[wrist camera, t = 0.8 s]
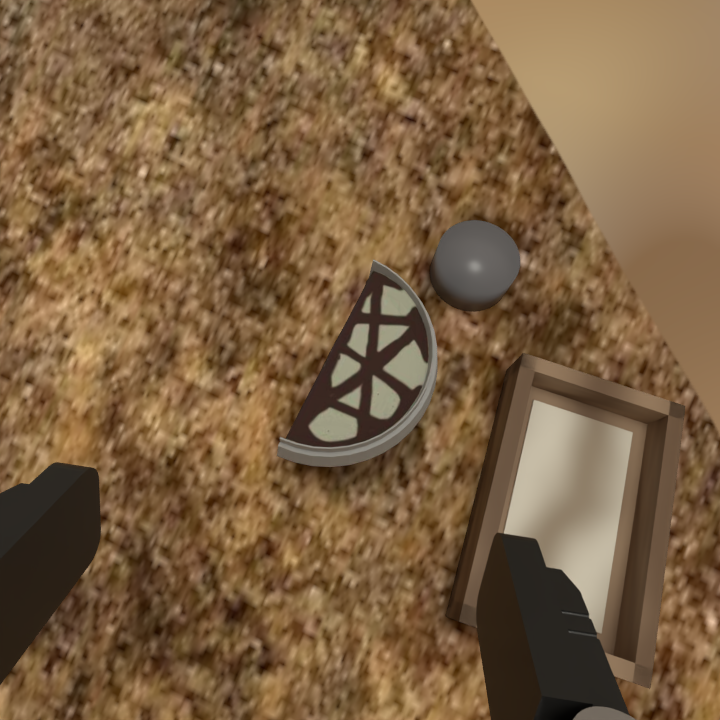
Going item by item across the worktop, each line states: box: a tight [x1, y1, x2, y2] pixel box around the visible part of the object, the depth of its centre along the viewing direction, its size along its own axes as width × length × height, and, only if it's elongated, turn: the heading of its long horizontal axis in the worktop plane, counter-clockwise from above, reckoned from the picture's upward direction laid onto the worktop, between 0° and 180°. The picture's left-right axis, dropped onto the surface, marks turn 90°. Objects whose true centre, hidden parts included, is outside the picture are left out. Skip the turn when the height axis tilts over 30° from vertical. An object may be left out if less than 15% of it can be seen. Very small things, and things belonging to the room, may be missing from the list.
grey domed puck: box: [430, 220, 520, 311], centre depth 42 cm, size 6×6×3 cm
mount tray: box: [446, 353, 685, 689], centre depth 36 cm, size 11×17×4 cm, turn 162°
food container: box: [277, 260, 437, 467], centre depth 34 cm, size 12×6×10 cm, turn 155°
